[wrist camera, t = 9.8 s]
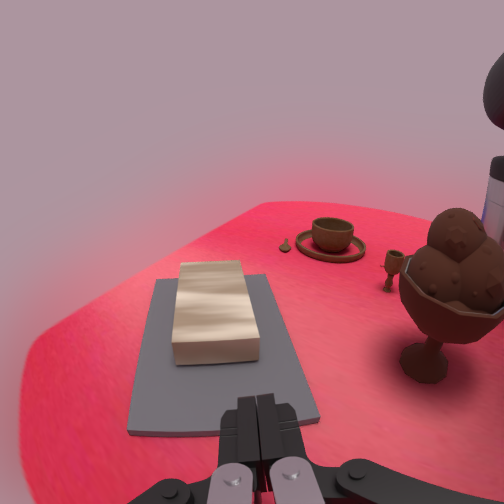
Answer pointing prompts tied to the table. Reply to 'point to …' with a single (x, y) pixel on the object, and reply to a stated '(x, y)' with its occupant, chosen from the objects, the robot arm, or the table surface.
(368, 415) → the table surface
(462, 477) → the table surface
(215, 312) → the tile
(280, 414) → the robot arm
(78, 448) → the table surface
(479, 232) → the ice cream bowl
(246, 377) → the mat
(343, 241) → the place setting
